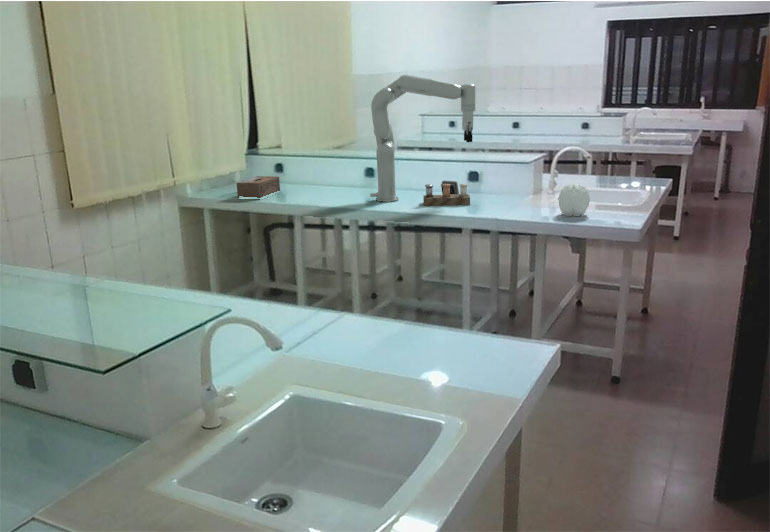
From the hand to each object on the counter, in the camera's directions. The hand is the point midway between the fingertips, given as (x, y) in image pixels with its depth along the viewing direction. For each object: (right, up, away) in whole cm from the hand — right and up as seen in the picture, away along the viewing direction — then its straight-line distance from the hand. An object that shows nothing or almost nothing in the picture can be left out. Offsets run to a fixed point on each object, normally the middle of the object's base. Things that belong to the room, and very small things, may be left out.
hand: (468, 141), depth 349 cm
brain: (+44, -43, -41) cm, 74 cm away
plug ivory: (-3, -31, -6) cm, 31 cm away
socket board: (-12, -34, -5) cm, 36 cm away
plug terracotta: (-12, -31, -6) cm, 34 cm away
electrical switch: (-8, -29, +14) cm, 33 cm away
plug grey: (-21, -31, -5) cm, 38 cm away
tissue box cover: (-119, -26, +39) cm, 128 cm away
